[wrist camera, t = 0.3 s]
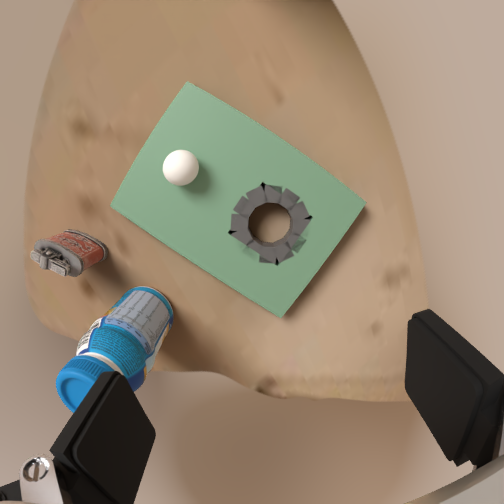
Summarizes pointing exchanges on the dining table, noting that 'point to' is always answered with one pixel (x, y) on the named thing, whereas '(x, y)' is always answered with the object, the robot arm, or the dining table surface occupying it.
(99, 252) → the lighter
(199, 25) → the dining table surface
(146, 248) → the dining table surface
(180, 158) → the ball
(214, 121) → the green board
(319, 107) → the dining table surface
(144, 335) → the beverage bottle
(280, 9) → the dining table surface
